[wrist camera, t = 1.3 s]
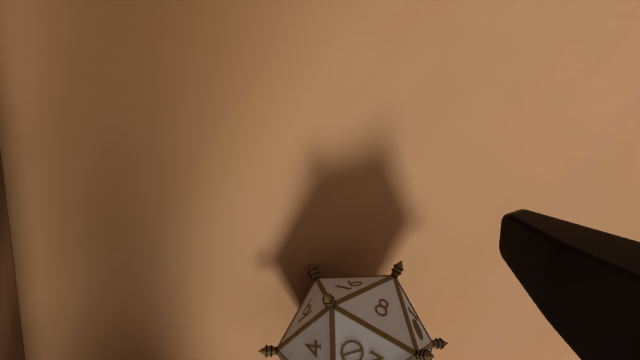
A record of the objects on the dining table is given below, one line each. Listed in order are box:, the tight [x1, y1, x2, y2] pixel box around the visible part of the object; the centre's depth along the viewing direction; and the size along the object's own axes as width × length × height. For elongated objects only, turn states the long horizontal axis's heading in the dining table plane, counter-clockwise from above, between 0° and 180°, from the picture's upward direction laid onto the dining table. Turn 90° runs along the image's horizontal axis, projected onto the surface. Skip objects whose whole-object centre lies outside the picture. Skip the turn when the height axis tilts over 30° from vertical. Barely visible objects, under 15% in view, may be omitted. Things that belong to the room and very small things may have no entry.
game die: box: [259, 261, 448, 360], centre depth 22 cm, size 9×8×10 cm
